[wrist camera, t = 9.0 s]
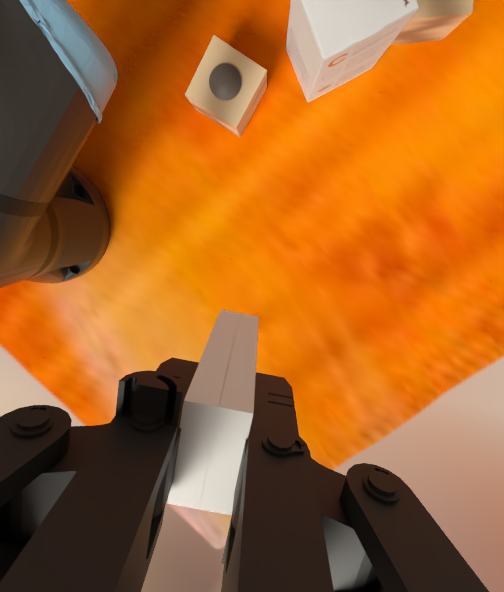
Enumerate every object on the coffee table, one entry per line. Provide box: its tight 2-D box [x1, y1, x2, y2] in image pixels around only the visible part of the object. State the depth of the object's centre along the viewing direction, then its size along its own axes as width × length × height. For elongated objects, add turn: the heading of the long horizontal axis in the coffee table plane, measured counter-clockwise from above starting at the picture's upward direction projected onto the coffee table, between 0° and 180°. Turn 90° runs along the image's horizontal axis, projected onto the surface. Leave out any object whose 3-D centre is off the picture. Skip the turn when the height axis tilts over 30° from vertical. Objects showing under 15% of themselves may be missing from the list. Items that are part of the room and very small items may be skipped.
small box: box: [286, 0, 419, 102], centre depth 34 cm, size 8×6×13 cm
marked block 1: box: [185, 35, 267, 137], centre depth 38 cm, size 6×6×6 cm
